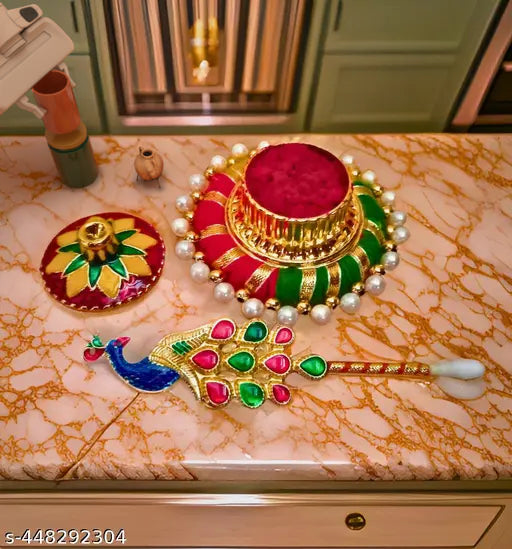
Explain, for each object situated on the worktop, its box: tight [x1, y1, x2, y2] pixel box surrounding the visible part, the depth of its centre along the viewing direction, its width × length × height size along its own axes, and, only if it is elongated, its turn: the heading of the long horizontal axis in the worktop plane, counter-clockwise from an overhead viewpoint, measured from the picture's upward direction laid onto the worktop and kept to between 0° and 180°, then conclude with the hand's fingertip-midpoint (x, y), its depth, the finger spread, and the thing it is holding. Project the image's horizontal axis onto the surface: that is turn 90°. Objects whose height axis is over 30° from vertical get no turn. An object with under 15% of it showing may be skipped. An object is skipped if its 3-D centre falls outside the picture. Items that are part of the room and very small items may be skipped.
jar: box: [44, 120, 100, 189], centre depth 116 cm, size 8×8×12 cm
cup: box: [30, 69, 82, 134], centre depth 105 cm, size 7×7×9 cm
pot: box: [133, 146, 165, 188], centre depth 118 cm, size 6×8×6 cm
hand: (58, 102), depth 105 cm, fingers closed on cup, 7 cm apart
